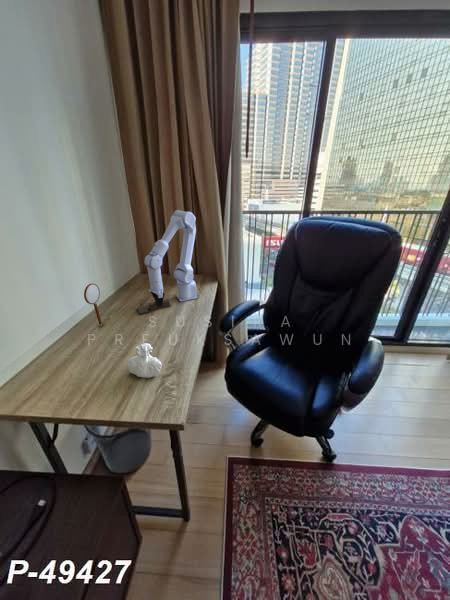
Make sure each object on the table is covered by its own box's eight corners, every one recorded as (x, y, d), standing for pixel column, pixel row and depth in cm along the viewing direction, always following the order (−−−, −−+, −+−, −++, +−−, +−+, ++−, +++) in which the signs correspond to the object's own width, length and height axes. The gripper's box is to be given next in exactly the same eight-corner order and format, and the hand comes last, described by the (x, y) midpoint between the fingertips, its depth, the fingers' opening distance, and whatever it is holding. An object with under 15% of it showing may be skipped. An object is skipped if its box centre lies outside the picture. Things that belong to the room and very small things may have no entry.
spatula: (168, 303, 129) (167, 297, 127) (170, 307, 125) (170, 301, 123) (138, 309, 123) (137, 304, 122) (139, 314, 119) (138, 308, 118)
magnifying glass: (96, 331, 107) (84, 288, 97) (93, 331, 107) (80, 288, 98) (108, 320, 114) (98, 280, 105) (105, 320, 115) (94, 280, 105)
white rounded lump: (164, 377, 85) (168, 344, 87) (156, 380, 78) (160, 344, 80) (131, 374, 87) (136, 341, 89) (120, 376, 80) (125, 341, 82)
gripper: (144, 276, 122) (148, 300, 129) (150, 287, 111) (154, 313, 117) (158, 273, 125) (162, 298, 131) (165, 284, 113) (169, 310, 120)
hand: (159, 305), depth 124 cm, fingers closed
